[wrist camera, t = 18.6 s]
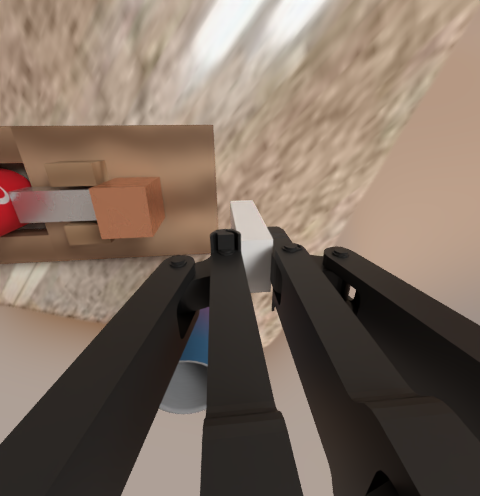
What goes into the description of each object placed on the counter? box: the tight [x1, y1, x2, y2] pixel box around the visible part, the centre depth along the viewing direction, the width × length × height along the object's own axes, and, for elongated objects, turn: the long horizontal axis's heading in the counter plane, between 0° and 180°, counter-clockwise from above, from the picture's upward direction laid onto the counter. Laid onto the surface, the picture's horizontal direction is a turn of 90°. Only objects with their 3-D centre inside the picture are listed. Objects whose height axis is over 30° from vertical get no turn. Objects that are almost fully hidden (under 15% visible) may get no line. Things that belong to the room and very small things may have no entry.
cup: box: [159, 307, 209, 414], centre depth 28 cm, size 7×7×15 cm
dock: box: [0, 125, 218, 264], centre depth 25 cm, size 14×30×6 cm, turn 91°
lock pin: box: [8, 177, 165, 239], centre depth 23 cm, size 4×13×6 cm, turn 91°
